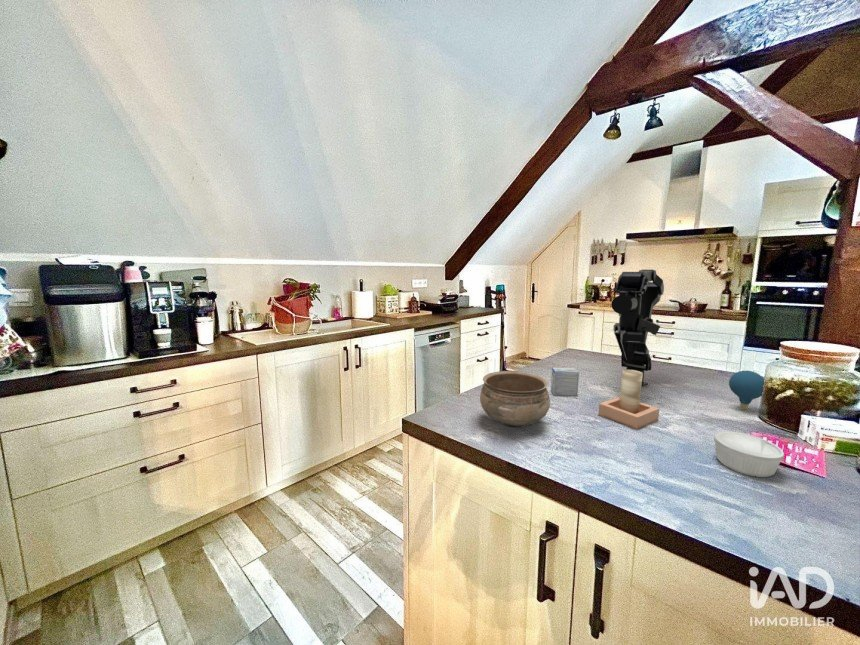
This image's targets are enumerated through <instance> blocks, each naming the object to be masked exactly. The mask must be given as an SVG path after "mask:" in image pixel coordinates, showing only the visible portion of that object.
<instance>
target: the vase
mask: <svg viewBox="0 0 860 645" xmlns="http://www.w3.org/2000/svg"><path fill="white" fill-rule="evenodd" d="M621 372H622V373H621V381H620V390H619V392H620V393H619V397H620V399H619V409H622V410H625V411H628V412H630V413H633V414H637V413H639V403H640V401H641V392H642V387H641V385H642V376H643V373H642V372H640V371H636V370H626V369H622V371H621Z"/></svg>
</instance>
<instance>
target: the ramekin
mask: <svg viewBox="0 0 860 645" xmlns="http://www.w3.org/2000/svg"><path fill="white" fill-rule="evenodd" d="M713 441H714V447H715V455H716V458H717V459H718V461H719V463H721V464H722V465H724V466H725V467H727V468H729V469H730V470H732V471H735V472H737V473H740V474H742V475H746V476H751V477H755V476H756V477H755V478H757V477H758V478H769V477H771V476H774V475H775V473H776V472H777V470H778V467H779V466H780V464H781V462H782V461H783V460H784V457H785V453H784V451H783V449H782V448H781V447H779V446H778V445H776V444H774V443H772V442H770V441H768V440H767V439H764V438H761V437H758V436H755V435H751V434H748V433H742V432H737V431H719V432H716V433H715V434H714V436H713Z"/></svg>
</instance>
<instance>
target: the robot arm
mask: <svg viewBox="0 0 860 645" xmlns="http://www.w3.org/2000/svg"><path fill="white" fill-rule="evenodd" d="M664 290H665V284H664V280H663V278H661V277H660V276H659V275H658V274H657V270H656V269H641V270H640V269H639V271H622V272H621V273H620V274H619V276H618V279H617V282H616V285H615V288H614V293H615V294H618V295H616V296H615V297H613V299H612V300H611V308H612V310H613V311H614V312H615V313H616V314H618V316H619V320H618V322H616V323H615V324H613V334H614V337H615V339H616V342H617V344H618V348H619V350H620V353H621V356H620V358H621V359H620V361H621V362H620V363H621V368H626V369H625V370H636V371H640V372H642V373H643V376H642V385H641V388H642V387H644V386H647V385H649V383H648V382H645V372H648V371H652V367H653V365H652V364H653V363H652V358H651V355H650V350H649V348H648V346H647V344H646V343H647V339H648V335H649V334H648V333H650V334H652V335H654V336H656V335H657V333H658V332H659V331H660V330H659V329H660V328H661V325H659V324H658V323H656V322H654V319H653V318H652V314H653V310H654V307H655V306H656V305H657V304H658V303H659V302H660V301H661V297H662V296H663V295H664V293H665V292H664Z"/></svg>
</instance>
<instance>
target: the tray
mask: <svg viewBox="0 0 860 645" xmlns="http://www.w3.org/2000/svg"><path fill="white" fill-rule="evenodd" d="M619 399H620V396H618V397H614V398H612V399H608V400H606V401H603V402H600V403H598V416H601V417H602V418H603V417H604V418H605V419H608V420H610V421H612V422H613V421H614V422H616V423H618V424H620V425H624V426H626V427H628V428H631V429H634V430H639V429H641V428H644V427H646V426H648V425H650V424H653V423H655V422H658V421H659V415H660V408H659V407H656V406H653V405H650V404H647V403H644V402H640V403H639V413H637V414H633V413H630V412H628V411H625V410H622V409H619Z"/></svg>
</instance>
